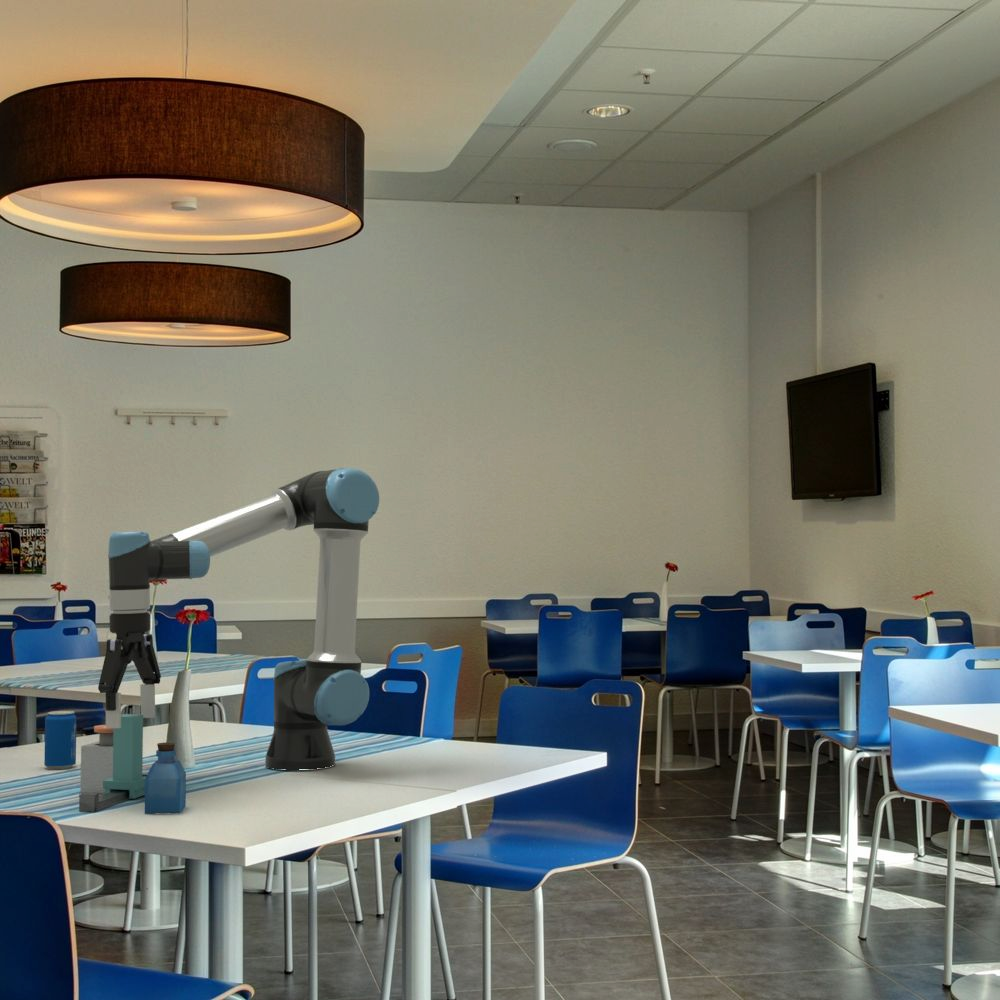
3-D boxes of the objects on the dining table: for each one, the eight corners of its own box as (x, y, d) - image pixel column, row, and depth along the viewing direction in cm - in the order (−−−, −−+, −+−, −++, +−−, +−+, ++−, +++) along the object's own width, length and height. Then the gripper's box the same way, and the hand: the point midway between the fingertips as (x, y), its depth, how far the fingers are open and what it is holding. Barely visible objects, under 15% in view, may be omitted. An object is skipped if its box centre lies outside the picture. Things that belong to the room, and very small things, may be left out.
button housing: (131, 787, 258) (131, 742, 259) (113, 794, 251) (114, 747, 252) (98, 786, 260) (99, 741, 260) (80, 792, 253) (81, 746, 253)
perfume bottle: (179, 813, 232) (180, 745, 233) (144, 814, 232) (145, 746, 233) (185, 807, 239) (186, 741, 239) (151, 807, 238) (151, 741, 239)
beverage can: (65, 770, 279) (66, 714, 280) (38, 769, 281) (39, 713, 281) (81, 766, 286) (82, 711, 286) (54, 765, 287) (55, 710, 288)
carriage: (151, 793, 251) (152, 714, 251) (136, 798, 245) (137, 717, 246) (118, 791, 252) (119, 713, 253) (102, 797, 246) (103, 717, 247)
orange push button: (123, 755, 258) (124, 725, 258) (111, 759, 253) (112, 728, 253) (101, 754, 259) (102, 724, 259) (89, 758, 254) (89, 727, 254)
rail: (156, 788, 257) (156, 773, 257) (94, 811, 234) (94, 795, 234) (142, 788, 258) (142, 773, 258) (79, 811, 234) (79, 794, 234)
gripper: (142, 608, 263) (144, 713, 263) (77, 615, 239) (79, 732, 238) (177, 607, 262) (178, 713, 261) (115, 615, 237) (116, 732, 237)
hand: (131, 722), depth 250 cm, fingers open, 13 cm apart
